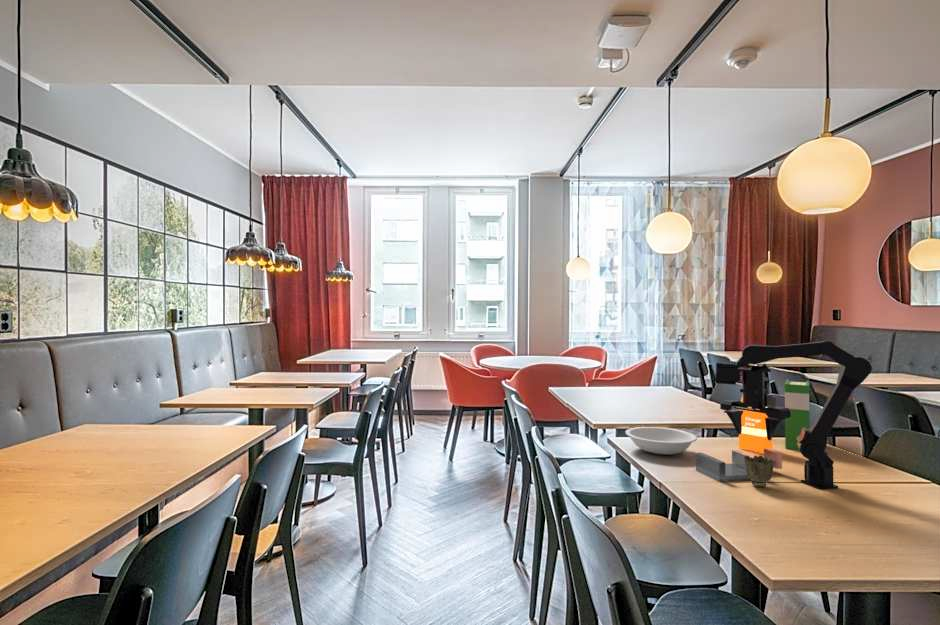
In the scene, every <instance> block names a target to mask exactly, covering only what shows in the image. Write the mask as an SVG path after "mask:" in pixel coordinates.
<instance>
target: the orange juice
mask: <svg viewBox="0 0 940 625" xmlns="http://www.w3.org/2000/svg"><path fill="white" fill-rule="evenodd" d="M740 401H741V402H743V393H742V396H741V399H740ZM748 408H751V407H748ZM766 408H767V407H766ZM739 410H740V409H739ZM757 410H759V409H757ZM742 411H743V414H742V416H741V421H742V432H741V434H738V449H739V448H740V449H739V450H742V449H746V450H745V451H747V450H752V451H755V452H754V453H757V452H759V453H758V454H763V453H764V448H770V449H773V438H772V439H771V440H768V438H767V432H766V423H765V418H769V417H768V416H767V415H766V414H765V413H758V412H752V411H746V410H742ZM752 451H751V452H752Z"/></svg>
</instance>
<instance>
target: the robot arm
mask: <svg viewBox="0 0 940 625" xmlns="http://www.w3.org/2000/svg"><path fill="white" fill-rule="evenodd" d="M822 355H824V356H825V357H828V358H829V359H831V360H832V361H834V362H835V363H837V364H838V365H840V367H839V370H838V376H837V381H836V383H835V385H834V387H833V389H832V391H831V392H830V394H829V396H828V398H827V400H826V401H825V403H824V405H823V407H822V408H821V410H820V413H819V414H818V416H816V417H817V418H816V419H815V421H814V423H813V424H812V425H811V426H810V428H809V429H806V428H805V427H803V428H802V431H801V434H800V435H799V436H798V437H797V440H798V443H797V445H798V448H799V450H800V451H799V450H798V451H799V452H800V453H801V455H802V457H804V458H805V459H807V460H805V461H804V465H803V466H804V468H803V469H804V475H803V476H804V477H803V478H804V479H800V482H801V483H802V484H803V483H804V484H805V485H808V486H811V487H814V488H815V489H816V488H817V489H820V490H822V489H823V490H825V489H826V490H827V489H836V488H839V485H837V484H834V463H835V462H834V460H833V459H832V457H831V456H830V454H829V453H828V452H827V450H826V448H827V444H828V440H829V435H830V434H829V433H830V432H831V430H832V429H833V427H834V425H835V423H837V422H836V421H837V420H838V419H839V418H838V417H839V416H840V414H841V413H842V412H843V409H844V408H845V405H846V404H847V402H848V401H849V399H850V397H851V395H852V393H853V392H854V391H855V390H856V388H857V387H859V386H860V385H861V384H862V383H863V382H864V381H865V380H866V379H867V378H868V376H870V374H871V373H872V370H873V367H872V364H871V362H870V361H869V360H868V359H866V358H864V357H861V356H857V355H852V354H851V353H848V352H847V351H846V350H844V349H842V348H841V347H839V346H837V344H835V343H833V342H832V341H830V340H822V341H817V342H806V343H804V342H803V343H794V344H786V345H785V344H783V345H765V344H763V345H762V344H748V345H746V346H745V347H744V348H743V349H742V351H741V357H740V358H739V359H738V360H736V362H735V363H727V362H725V363H724V362H719V361H718V362H716V364H715V365H716V368H715V370H716V371H715V384H716V385H726V386H727V385H730V386H736V385H737V383H738V382H739V383H740V382H742V388H740V389H739V393H742V394H743V402H741V400H737V399H723V400H721V401H720V403H719V406H720V407H719V408H720V410H723V413H725V414H726V416H728V418H729V420H730V421H731V424H733V427H734V428H735V430H736V432H737V434H738V435H739V434H741V432H742V421H741V416H742V414H743V411H742V410H746V411H752V412H758V413H765V414H766V415H767V416H768V417H769V418H765V423H766V432H767V438H768V440H771V439H772V440H773V437H774V435H775V431H776V429H777V427H778V425H779V424H780V423H781V422H782V421H785V419H786V418H790V417H791V412H790V410H789V409H788V408H786V407H785V406H779V405H778V406H777V405H776V404H777V398H776V397H774V396H772V395H771V394H770V395H769V393H768V390H767V389H765V373H771V372H772V369H771V368H769V367H768V365H767V364H766V362H770V361H774V360H778V359H785V358H786V359H788V358H798V357H800V358H801V357H808V356H809V357H810V356H811V357H812V356H822ZM759 364H762V365H759ZM749 365H750V368H745V367H747V366H749ZM741 372H742V378H741V374H740V373H741ZM741 379H742V381H741ZM748 407H751V408H748ZM766 407H767V408H766ZM739 409H740V410H739ZM757 409H759V410H757Z"/></svg>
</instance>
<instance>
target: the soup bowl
mask: <svg viewBox="0 0 940 625" xmlns="http://www.w3.org/2000/svg"><path fill="white" fill-rule="evenodd" d="M624 433H625V435H626V436H628V437H630V439H631V440H632V442H633V444H635V446H636V447H638V448H639V449H641V450H642V451H645V452H647V453H652V454H656V455H675V454H680V453H682V452H684V451H686V450H687V449H688V448H689V447H691V445H692V443H694V442H696V441H697V439H698V437H697V436H696V435H695V434H693V433H691V432H689V431H686V430H680V429H675V428H670V427H661V426H660V427H657V426H639V427H638V426H637V427H636V426H635V427H631V428H628V429H626V430H625V432H624Z"/></svg>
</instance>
